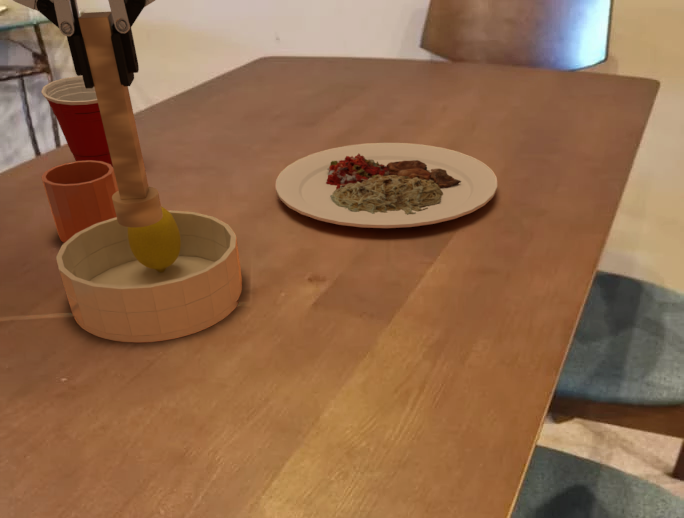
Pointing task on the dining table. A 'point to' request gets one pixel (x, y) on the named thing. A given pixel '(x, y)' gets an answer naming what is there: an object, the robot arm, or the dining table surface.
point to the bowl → (151, 281)
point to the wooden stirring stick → (119, 126)
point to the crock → (80, 195)
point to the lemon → (156, 243)
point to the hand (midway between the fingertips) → (110, 81)
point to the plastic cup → (79, 118)
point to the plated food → (386, 185)
